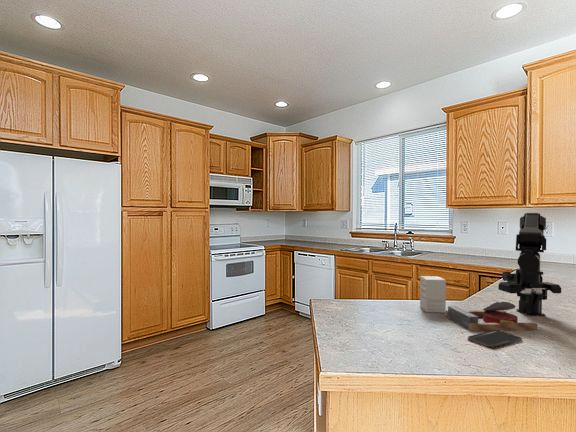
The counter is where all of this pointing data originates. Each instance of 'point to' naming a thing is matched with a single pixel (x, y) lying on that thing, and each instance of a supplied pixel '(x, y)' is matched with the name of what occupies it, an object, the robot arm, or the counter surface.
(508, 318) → the canned food
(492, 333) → the phone
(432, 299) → the supplement box
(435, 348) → the counter surface
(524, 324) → the guide channel
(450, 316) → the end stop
